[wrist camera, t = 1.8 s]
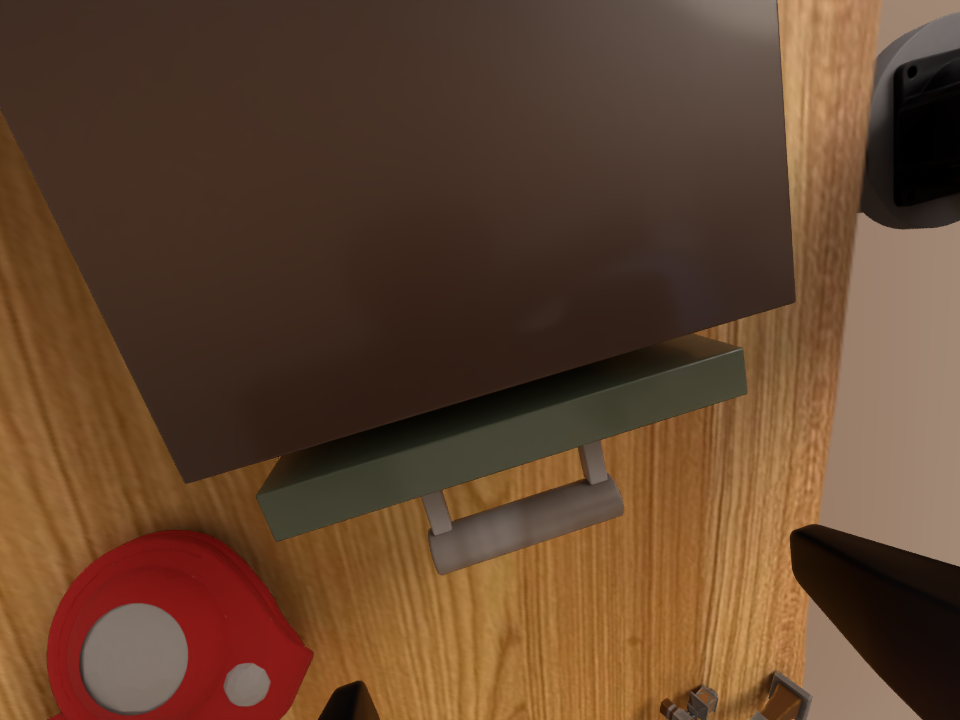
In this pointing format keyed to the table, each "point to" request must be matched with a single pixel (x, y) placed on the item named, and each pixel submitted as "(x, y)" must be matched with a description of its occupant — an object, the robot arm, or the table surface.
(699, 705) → the wooden post with brackets
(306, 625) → the table surface
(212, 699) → the tracker holder
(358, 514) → the drawer
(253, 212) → the cabinet
